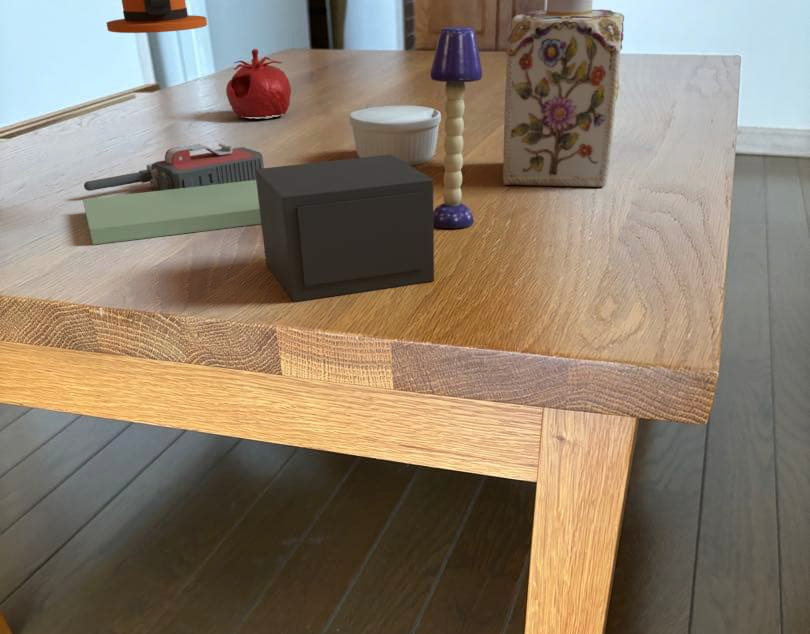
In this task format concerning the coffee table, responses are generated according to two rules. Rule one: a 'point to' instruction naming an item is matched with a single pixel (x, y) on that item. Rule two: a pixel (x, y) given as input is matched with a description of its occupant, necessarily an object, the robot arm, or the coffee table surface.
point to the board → (172, 211)
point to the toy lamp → (454, 116)
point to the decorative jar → (561, 95)
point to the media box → (346, 225)
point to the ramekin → (396, 132)
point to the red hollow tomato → (258, 89)
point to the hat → (155, 19)
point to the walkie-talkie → (191, 169)
